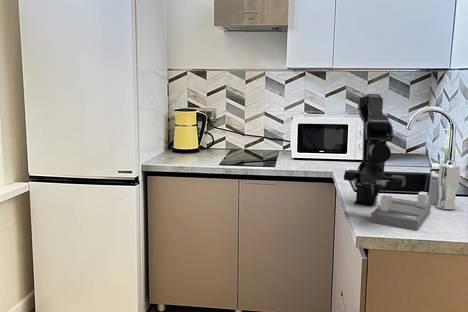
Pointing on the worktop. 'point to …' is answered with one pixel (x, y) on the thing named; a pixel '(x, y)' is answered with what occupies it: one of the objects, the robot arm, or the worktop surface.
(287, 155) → the worktop surface
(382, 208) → the off-white switch lever
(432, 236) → the worktop surface
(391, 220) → the switch panel
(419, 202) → the off-white block
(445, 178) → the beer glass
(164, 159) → the worktop surface
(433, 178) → the light bulb box
